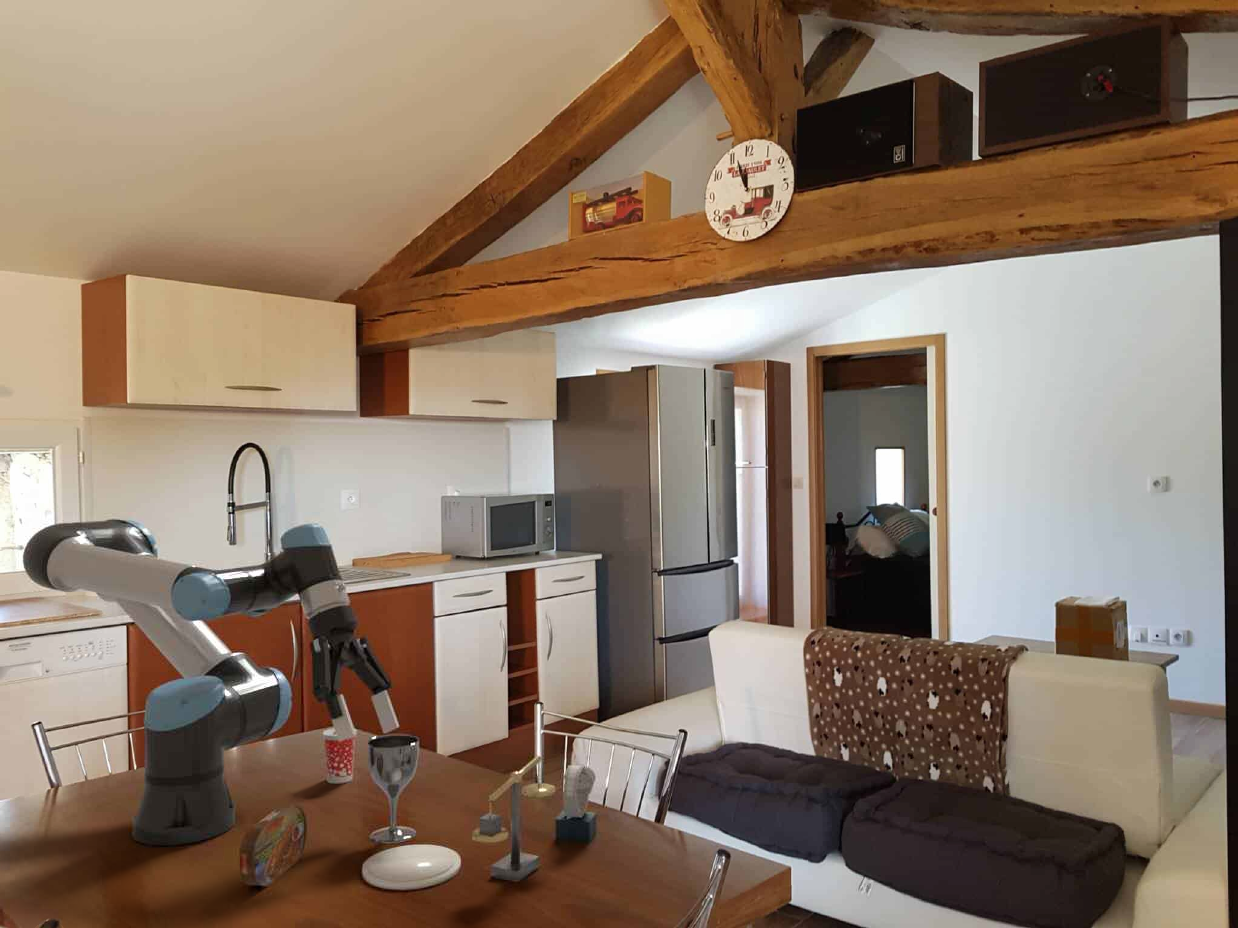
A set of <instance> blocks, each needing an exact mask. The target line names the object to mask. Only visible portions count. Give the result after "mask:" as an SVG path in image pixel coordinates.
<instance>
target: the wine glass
mask: <svg viewBox="0 0 1238 928" xmlns="http://www.w3.org/2000/svg"><path fill="white" fill-rule="evenodd" d="M419 745H420V740H419V737H418V736H416V735H415V734H414V735H413V734H410V733H409V734H408V733H389V734H387V733H386V734H381V735H378V736H374V737H372V738H370V739H369V740H367V762H368V768H369V772H370V775H371V778H372V780H373V781H374V783H376V785H377V786H378V787H380V789H381V790H382V791H383V792H384V793H385V795H386V797H387V799H388V804H389V809H390V810H389V811H390V826H387V827H384V828H380V829H377V830H375V831H373V832H372V833H371V834H370V836H369V838H370V840H371V841H373V842H375V843H378V844H388V845H391V844H393V845H394V844H399V843H404V842H408V841H410V840H411V839H413V838H415V837H416V836H417V831H416V830H415V829H414V828H412V827H410V826H409V827H408V826H403V825H401V826H400V825H399V826H397V820H396V819H397V806H398V800H399V798H400V796H401V793H402V792H403V790H404V789H405V788H406V786H407V785H408V784H409V783H410V781H412V780H413V778H414V775H415V773H416V771H417V766H418V760H419V749H420V746H419Z"/></svg>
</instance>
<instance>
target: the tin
mask: <svg viewBox="0 0 1238 928" xmlns="http://www.w3.org/2000/svg"><path fill="white" fill-rule="evenodd" d="M307 824H308V823H307V819H306V814H305V811H304V810H303V809H302V807H300V806H299V805H290V806H289V805H287V806H285V805H284V806H279V807H277V808H275V809H274V810H273V811H271V812H269V813H268V814H267V815H265V816H264V817H263V818H262V819H260V820H258V821H257V822H256V823H254V824H253V825H251V826H250V827H249V828H248V830H246V832H245V834H244V835H243V838H242V840H241V843H240V847H239V850H238V851H239V852H238V855H239V871H240V872H239V873H240V878H241V880H242V881H243V882H244V884H246V885H247V886H258V887H259V886H260V887H268V886H270V885H272V884H273V883H274V882H275V881H277V879H279V878H280V877H281V876H283V874H284V873H286V872H287V871H288V870H289V869H291V868H292V867H293V866H294V865H295V864H297V862H298V861H299V860H300V858H301V857H302V854H303V853H304V849H305V847H306V841H307V833H308V831H307V830H308V826H307Z"/></svg>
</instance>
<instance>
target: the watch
mask: <svg viewBox="0 0 1238 928" xmlns="http://www.w3.org/2000/svg"><path fill="white" fill-rule="evenodd" d="M562 780H564V782H563V797H562V804H563V809H562V811H561V812H560V813H559V814H558V816H557V817H556V818H555V840H561V841H562V840H563V841H573V842H585V843H590V842H591V841H592V839H593V837H594V836H595V835H596V833H597V812H593V811H587V807H588V803H589V795H591V793H592V790H593V786H594V784H595V781H596V773H595V771H594V770H593V769H592V768H591V767H589V766H587V765H585V764H582V763H573V764H569V765H568V766H567V768H566V771H565V774H564V773H562Z"/></svg>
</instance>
